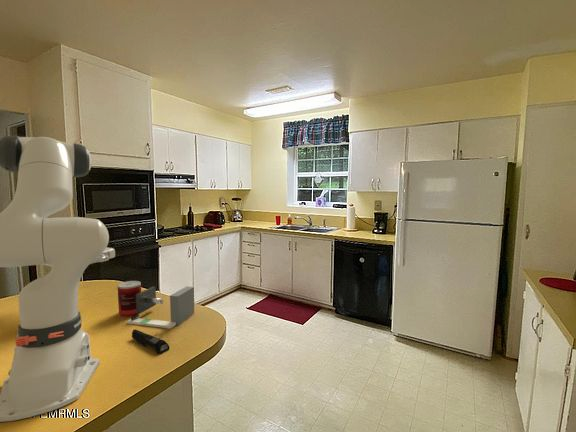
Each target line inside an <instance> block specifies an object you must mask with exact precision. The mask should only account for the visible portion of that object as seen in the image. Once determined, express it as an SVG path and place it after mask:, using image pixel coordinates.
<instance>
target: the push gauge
mask: <svg viewBox="0 0 576 432" xmlns="http://www.w3.org/2000/svg"><path fill="white" fill-rule="evenodd" d="M169 303H170V305H169V306H170V310H169V311H170V321H167V320H159V319H151V318H141V317H137V318H135V319H133V320H131V318H130V319H128V320H127V321H126V324H131V325H137V326H138V325H139V326H145V327H146V326H148V327H155V328H162V329H163V328H164V329H173V327H175V326H176V325H177V326H179V325H180V324H182V323H184V322H185V321H186V320H187V319H188V317H189V316H190V317H191V316H193V315H194V314H195V287H194V286H185V287H182V288H181V289H179V290H177V291H176V292H174V293H173V294H171V295H169ZM193 313H194V314H193ZM192 314H193V315H192ZM190 317H189V318H190ZM184 320H185V321H184Z"/></svg>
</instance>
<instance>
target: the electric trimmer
mask: <svg viewBox="0 0 576 432" xmlns="http://www.w3.org/2000/svg"><path fill="white" fill-rule="evenodd" d="M131 338H132V339H133V340H134V341H136V342H137V343H138V344H140V346H147V347H149V348H151V349H152V350H155V352H156V354H158V355H162V354H164V353H166V352H168V351H169V350H170V345H169V344H168V343H167V342H166V340H164V339H161V338H159V337H155V336H154V335H152V334H148V333H145V332H144V331H141V330H138V329H135V328H134V329H132V332H131Z"/></svg>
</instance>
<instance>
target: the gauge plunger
mask: <svg viewBox="0 0 576 432" xmlns="http://www.w3.org/2000/svg"><path fill="white" fill-rule="evenodd" d="M156 291H157V289H156V286H150V287H148V288H146V289H145V290H143V291H142V290H141V292H140V293H138V294H136V315H133V316H130V319H131V320H133V319H135V318H140V317H139V316H140V314H142V313H144V312H146V311H147V310H149V309H151V308H153V307H155V306H156V305H157V304H158V305H159V304H160V305H162V304H164V299H163V298H158V297H157V293H156Z"/></svg>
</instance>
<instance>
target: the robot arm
mask: <svg viewBox="0 0 576 432" xmlns="http://www.w3.org/2000/svg"><path fill="white" fill-rule="evenodd" d="M92 164H93V159H92V155H91V153H90V150H89V149H88V148H87V147H86V145H82V144H80V143H79V144H78V143H75V142H73V143H70V142H66V141H61V140H57V139H56V138H53V137H48V136H37V137H36V136H35V137H33V136H19V135H5V136H4V137H1V138H0V167H1V168H2V169H4V170H5V171H7V172H11V173H16V174H17V180H16V181H17V183H16V188H15V189H16V190H15V193H14V197H13V199H12V200H11V201H10V203H9V204H8V205H7V206H6V208H5V209H4V210H2V211H1V212H0V268H7V269H8V268H9V269H10V268H18V267H26V266H27V267H28V266H36V265H37V266H39V265H43V266H47V267H51V268H50V269H51V270H50V271H49V272H47V273H46V274H45V275H43V276H39V277H38V278H36V279H34V280H32V281H31V282H29V283H28V284H27V285H25V286H24V287H23V288H22V289H21V291H20V292H19V294H18V299H17V300H18V314H19V325H18V327H17V333H16V339H15V346H14V347H13V357H12V363H11V367H10V369H9V371H8V376H9V377H7V378H6V379H4V381H3V383H2V387H1V390H0V422H3V423H4V422H13V421H17V420H22V419H27V418H32V417H35V416H39V415H42V414H46V413H48V412H49V413H50V412H52V411H55V410H57V409H60V408H63V407H64V406H67V405H69V404H71V403H73V402H75V401H76V400H78V399H79V398H80V396H81V394H82V393H83V391H84V390H85V388H86V386H87V385H88V384H89V381H90V380H91V378H92V377H93V374H94V373H95V372H96V370H97V368H98V367H99V365H100V360H99V358H96V357H92V349H91V341H90V334H88V333H87V331H84V330H83V329H82V316H81V312H80V311H79V286H80V281H81V278H82V276H83V274H84V272H85V270H86V269H87V268H88V267H89V265H92V264H95V263H103V262H106V261H109V260H111V259H113V258H115V257H116V250H115V248H113V247H108V245H109V241H110V235H109V231H108V228H107V226H106V225H105V224H104V223H103V222H102V221H101V220H100V219H97V218H90V217H82V216H81V217H80V216H67V217H63V216H62V217H61V216H60V217H50V216H52V215H54V214H56V213H58V212H61V211H63V210H64V209H66V208H67V207H68V206H69V205H70V204H71V202H72V201H73V198H74V193H73V192H74V191H73V188H74V187H73V178H82V177H85V176H87V175H89V172H90V171H91V168H92Z"/></svg>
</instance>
